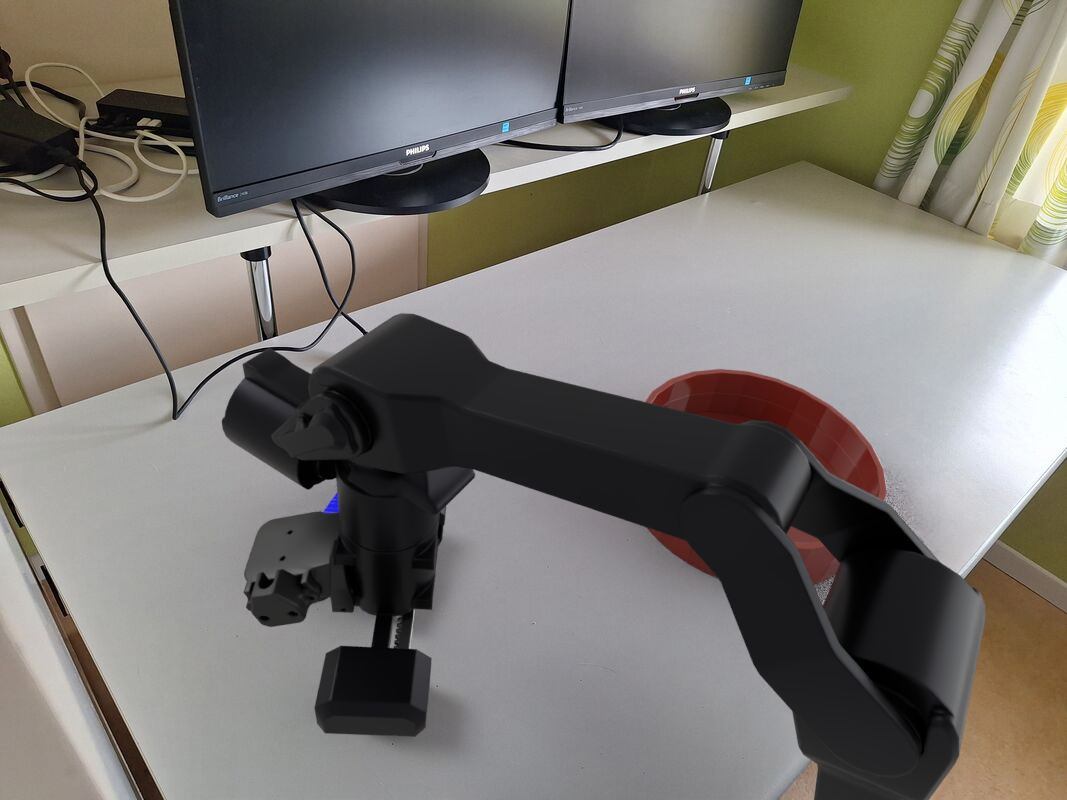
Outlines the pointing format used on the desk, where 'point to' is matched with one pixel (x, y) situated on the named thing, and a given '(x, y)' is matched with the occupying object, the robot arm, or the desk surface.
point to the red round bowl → (792, 409)
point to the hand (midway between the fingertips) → (391, 653)
